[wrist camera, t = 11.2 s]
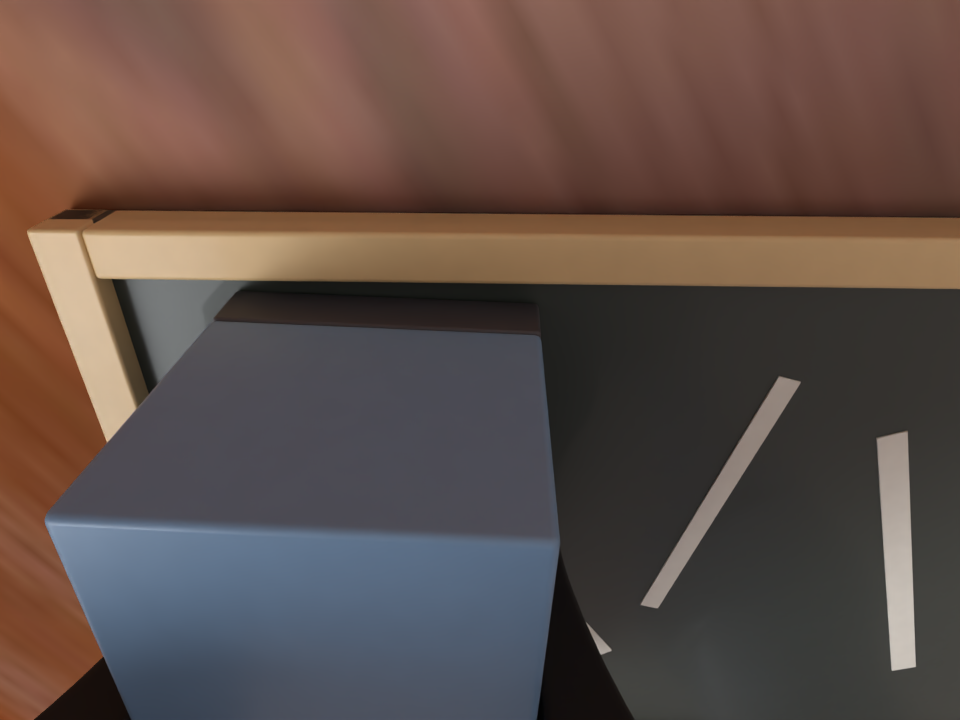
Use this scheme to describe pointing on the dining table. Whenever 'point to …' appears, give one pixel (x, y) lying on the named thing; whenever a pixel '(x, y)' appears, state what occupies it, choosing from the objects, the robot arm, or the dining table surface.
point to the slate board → (649, 419)
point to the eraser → (327, 517)
